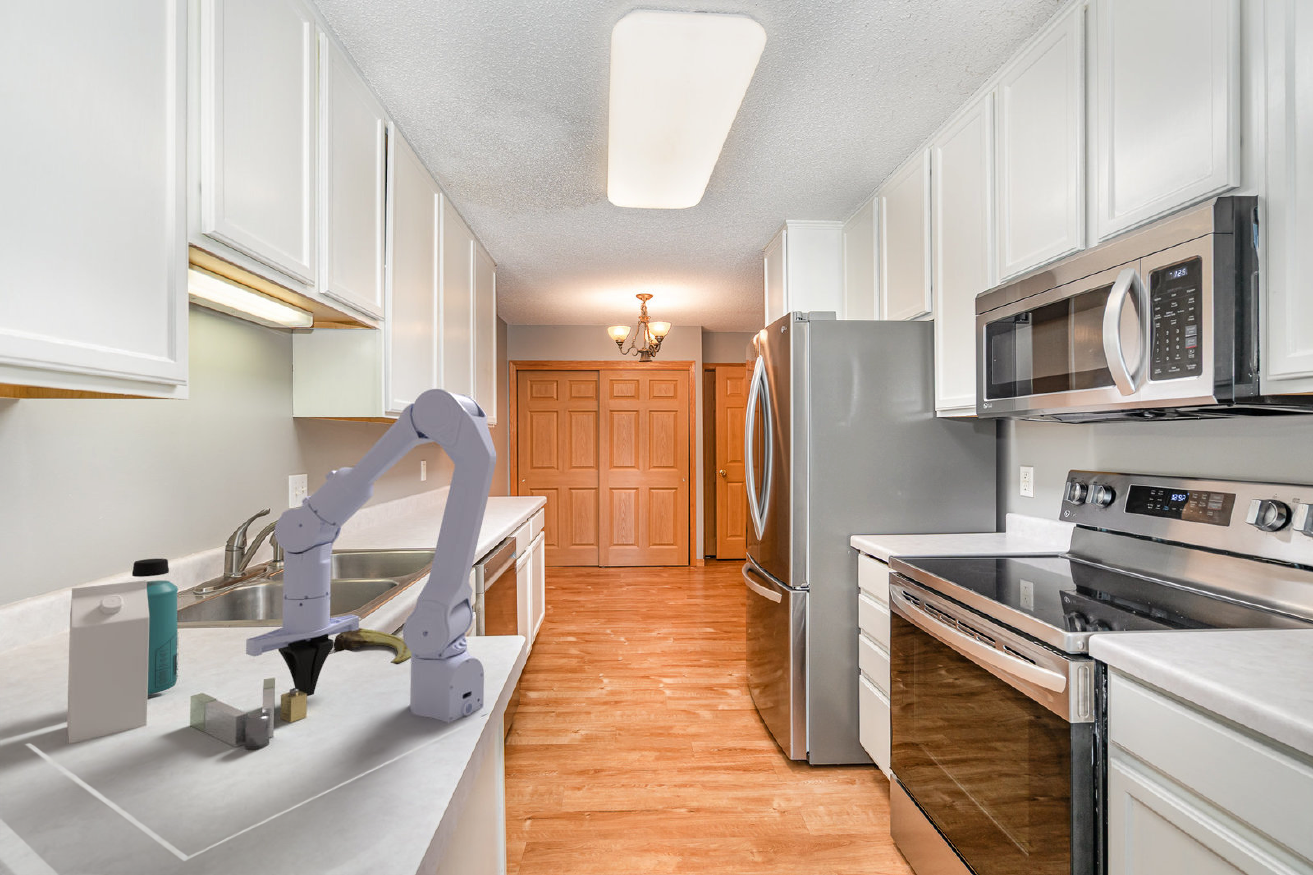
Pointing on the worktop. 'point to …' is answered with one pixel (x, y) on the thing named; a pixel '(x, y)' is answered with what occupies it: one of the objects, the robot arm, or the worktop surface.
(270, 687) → the bar
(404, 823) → the worktop surface
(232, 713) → the tongs fixed
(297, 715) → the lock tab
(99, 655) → the milk carton
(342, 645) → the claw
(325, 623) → the robot arm
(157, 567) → the beverage bottle
